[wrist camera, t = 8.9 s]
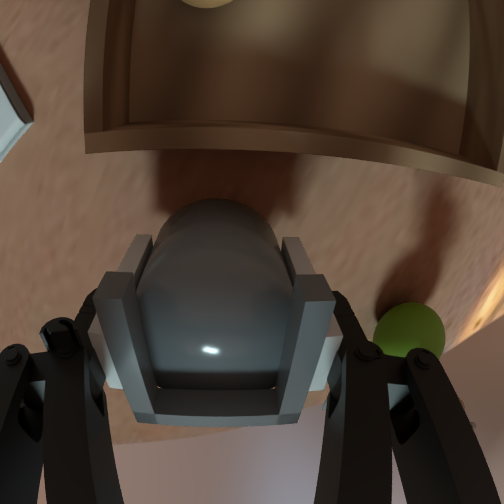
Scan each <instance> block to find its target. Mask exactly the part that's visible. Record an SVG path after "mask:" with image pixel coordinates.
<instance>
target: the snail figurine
mask: <svg viewBox="0 0 504 504" xmlns="http://www.w3.org/2000/svg"><path fill="white" fill-rule="evenodd" d="M373 343H375V344H376V345H378V346H379V347H380V348H381V349H382V350H383V353H384V354H387V355H392V356H399V357H406V355H407V353H408V352H409V351H410V350H411V349H414V348H424V349H427V350H429V351H431V352H432V353H433V354H435V355H436V357H437V358H438V359H439V358H440V357H441V355H442V353H443V350H444V346H445V329H444V326H443V323H442V321H441V319H440V317H439V316H438V315H437V313H436V312H435V311H434V310H432V309H431V308H430V307H428V306H426V305H424V304H421V303H415V302H408V303H403V304H400V305H397V306H395V307H393V308H392V309H390V310H389V311H388V312H386V313H385V314H384V315H383V317H382V318H381V319H380V321H379V322H378V324H377V326H376V328H375V331H374V335H373ZM458 398H459V397H458ZM459 400H460V402H461V404H462V406H463V409H464V411H465V407H464V403H463V402H462V400H461V399H460V398H459ZM470 424H471V426H472V428H473V431H474V430H475V428H476V425H475V423H474V422H470Z"/></svg>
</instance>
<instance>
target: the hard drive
mask: <svg viewBox="0 0 504 504" xmlns="http://www.w3.org/2000/svg"><path fill="white" fill-rule="evenodd" d="M33 122H34V121H33V120H32V118H31V116H30V115H29V113H28V111H27V110H26V108H25V106H24V105H23V103H22V101H21V99H20V98H19V96H18V94H17V92H16V91H15V89H14V87H13V85H12V83H11V82H10V80H9V78H8V76H7V74H6V72H5V70H4V68H3V67H2V65H1V63H0V163H1V161H2V160H3V159H4V157H5V156H6V155H7V154H8V152H9V151H10V150H11V148H12V147H13V146H14V145H15V144H16V142H17V141H18V140H19V139H20V138H21V136H22V135H23V134H24V133H25V132H26V131H27V129H28V128H29V127H30V126H31V125H32V124H33Z"/></svg>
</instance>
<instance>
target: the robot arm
mask: <svg viewBox="0 0 504 504" xmlns="http://www.w3.org/2000/svg"><path fill="white" fill-rule="evenodd" d="M152 249H153V241H152V235H136V236H135V238H134V240H133V242H132V244H131V245H130V247H129V249H128V251H127V253H126V255H125V256H124V258H123V260H122V262H121V264H120V266H119V268H118V270H117V272H133V276H134V282H135V288H136V290H137V287H138V285H139V282H140V279H141V277H142V274H143V271H144V269H145V266H146V264H147V261H148V258H149V256H150V253H151V251H152ZM281 254H282V257H283V260H284V263H285V266H286V269H287V272H288V275H289V278H290V281H291V284H292V287H294V281H295V275H296V274H316V273H315V271H314V269H313V267H312V264H311V262H310V260H309V258H308V256H307V254H306V252H305V249H304V247H303V245H302V243H301V241H300V239H299V237H283V240H282V248H281ZM96 290H97V288H96V289H95V290H93V291H92V292H91V293H90V294H89V295H88V296H87V297H86V299H85V301H84V303H83V306H82V307H81V308H80V310H79V313H78V314H77V316H76V318H75V320H74V321H73V320H72V319H69V318H67V317H59V318H55V319H52V320H51V321H49V322H47V323H46V324H45V325H44V326H43V327H42V328H41V331H40V333H39V334H40V336H41V338H42V340H43V342H44V344H45V346H46V348H47V352H41V353H33V354H30V353H29V351H28V349H27V348H26V347H25V346H24V345H21V344H13V345H10V346H8V347H6V348H5V349H4V350H3V351H2V352H1V353H0V504H37V499H38V491H39V484H40V479H41V473H42V467H43V464H44V478H45V490H46V500H47V504H124V501H123V497H122V493H121V489H120V484H119V479H118V475H117V470H116V464H115V459H114V453H113V447H112V441H111V434H110V427H109V419H108V411H107V402H106V395H105V392H104V390H103V385H104V382H105V379H106V380H107V383H108V385H109V387H110V388H117V389H123V387H122V385H121V382H120V380H119V377H118V375H117V372H116V369H115V367H114V364H113V361H112V358H111V356H110V353H109V350H108V347H107V344H106V341H105V338H104V335H103V332H102V329H101V326H100V322H99V319H98V316H97V312H96V309H95V305H94V302H93V298H92V297H93V295H94V294H95V292H96ZM332 293H333V295H334V297H335V299H336V304H335V307H334V311H333V315H332V318H331V322H330V325H329V329H328V332H327V335H326V339H325V342H324V345H323V349H322V352H321V355H320V358H319V361H318V364H317V367H316V371H315V374H314V377H313V380H312V383H311V386H310V388H309V391H316V390H324V387H325V385H326V382H327V381H328V384H329V387H330V392H329V394H328V397H327V399H326V401H325V403H324V406H323V409H322V410H325V409H326V416H325V426H324V435H323V444H322V452H321V460H320V467H319V474H318V481H317V487H316V493H315V499H314V504H391V501H392V449H393V452H394V456H395V459H396V463H397V467H398V470H399V474H400V478H401V482H402V486H403V489H404V493H405V497H406V501H407V504H501V502H500V499H499V496H498V493H497V489H496V487H495V484H494V481H493V478H492V475H491V473H490V470H489V467H488V465H487V462H486V459H485V457H484V454H483V452H482V449H481V447H480V445H479V442H478V440H477V437H476V435H475V433H474V431H473V428H472V426H471V424H470V422H469V419H468V417H467V415H466V413H465V411H464V409H463V406H462V404H461V402H460V400H459V398H458V396H457V394H456V392H455V390H454V388H453V386H452V384H451V382H450V380H449V378H448V376H447V374H446V373H445V371H444V369H443V367H442V365H441V363H440V361H439V359H438V358H437V357H436V355H435V354H433V353H432V352H431V351H429V350H427V349H424V348H414V349H411V350H410V351H409V352H408V353H407V355H406V357H399V356H392V355H387V354H384V353H383V350H382V349H381V348H380V347H379V346H378V345H376V344H375V343H373V342H371V341H368V340H367V338H366V336H365V334H364V332H363V330H362V328H361V326H360V324H359V322H358V320H357V318H356V316H354V315H355V314H354V312H353V310H352V309H351V306H350V304H349V302H348V301H347V299H346V298H345V297H344V296H343V295H342V294H341V293H340V292H338V291H332Z"/></svg>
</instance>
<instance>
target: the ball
mask: <svg viewBox="0 0 504 504" xmlns="http://www.w3.org/2000/svg"><path fill="white" fill-rule="evenodd" d="M182 1H183V2H185V3H187V4H189V5H191V6H194V7H199V8H215V7H219V6H222V5H225V4H227V3H229V2H231V1H233V0H182Z"/></svg>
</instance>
